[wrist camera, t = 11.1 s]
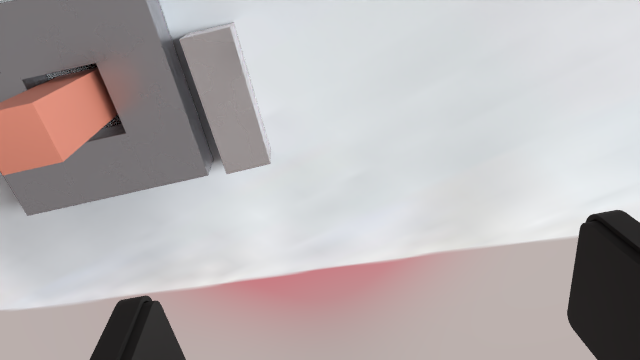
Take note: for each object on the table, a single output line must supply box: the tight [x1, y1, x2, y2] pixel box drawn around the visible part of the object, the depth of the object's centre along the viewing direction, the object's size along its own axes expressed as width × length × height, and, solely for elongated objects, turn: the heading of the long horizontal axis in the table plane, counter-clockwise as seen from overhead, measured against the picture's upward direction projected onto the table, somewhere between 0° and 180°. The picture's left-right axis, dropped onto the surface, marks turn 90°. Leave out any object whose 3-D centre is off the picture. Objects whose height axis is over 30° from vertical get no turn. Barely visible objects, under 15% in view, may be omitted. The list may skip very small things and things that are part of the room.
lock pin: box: [0, 67, 118, 175], centre depth 27 cm, size 3×3×10 cm
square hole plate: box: [0, 0, 213, 216], centre depth 30 cm, size 14×14×3 cm
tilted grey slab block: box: [179, 22, 271, 174], centre depth 31 cm, size 10×3×3 cm, turn 12°
